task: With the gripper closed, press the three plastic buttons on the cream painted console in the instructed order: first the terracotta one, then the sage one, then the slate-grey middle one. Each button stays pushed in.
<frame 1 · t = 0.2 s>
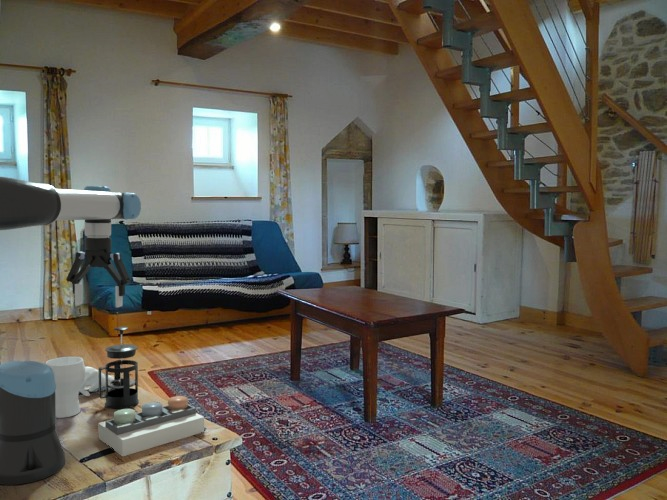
hand: (98, 305, 173), 28 cm above the table, fingers open, 13 cm apart
french press: (120, 404, 167), on the table
button sage: (124, 416, 139), point 7 cm above the table, slide at 0.0 cm
console: (152, 435, 145), on the table
button terracotta: (177, 402, 150), point 7 cm above the table, slide at 0.0 cm
button slate: (152, 409, 145), point 7 cm above the table, slide at 0.0 cm
cup: (65, 413, 159), on the table
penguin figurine: (95, 392, 177), on the table
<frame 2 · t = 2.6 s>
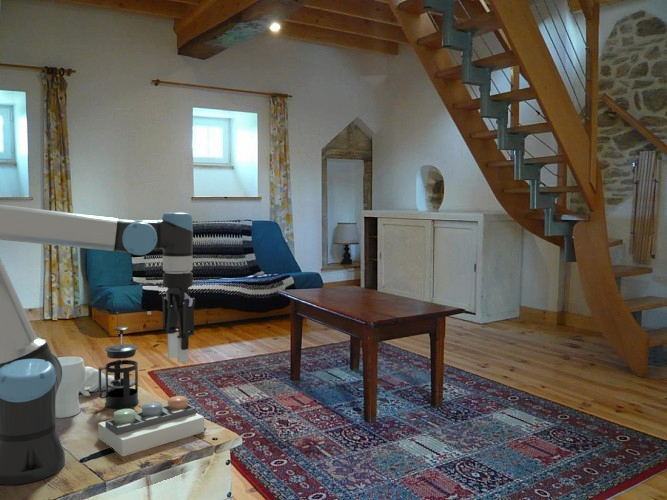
hand: (177, 359, 149), 19 cm above the table, fingers open, 4 cm apart
nothing on the table moved.
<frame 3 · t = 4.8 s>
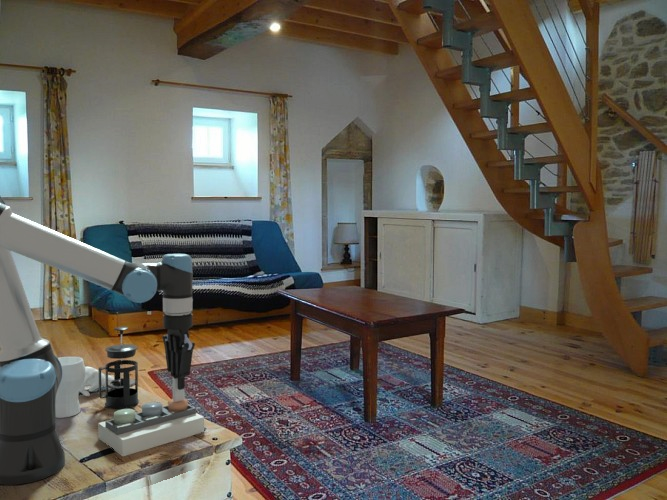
hand: (178, 400, 150), 8 cm above the table, fingers closed
button terracotta: (177, 404, 150), point 6 cm above the table, slide at 0.5 cm, touching gripper
everything else where it was.
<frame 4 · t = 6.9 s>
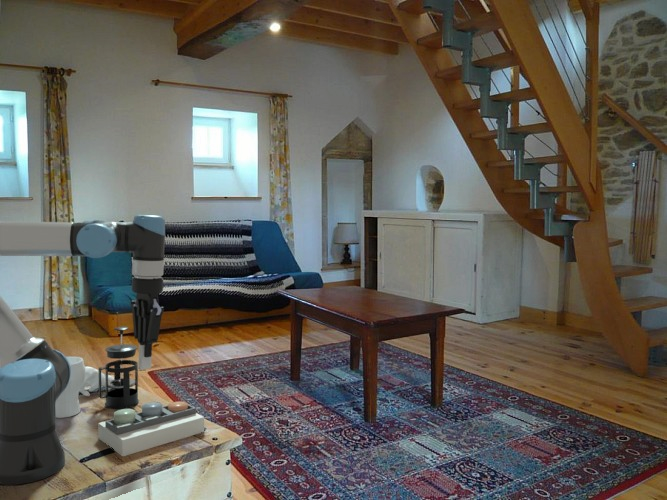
hand: (144, 368, 143), 18 cm above the table, fingers closed
button terracotta: (177, 408, 150), point 5 cm above the table, slide at 1.5 cm
everything else where it was.
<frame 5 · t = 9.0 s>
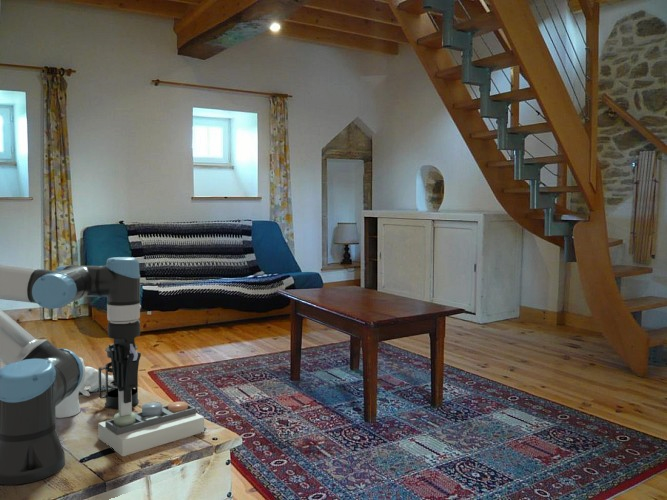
hand: (125, 414, 139), 7 cm above the table, fingers closed
button sage: (124, 419, 140), point 6 cm above the table, slide at 0.7 cm, touching gripper
everything else where it was.
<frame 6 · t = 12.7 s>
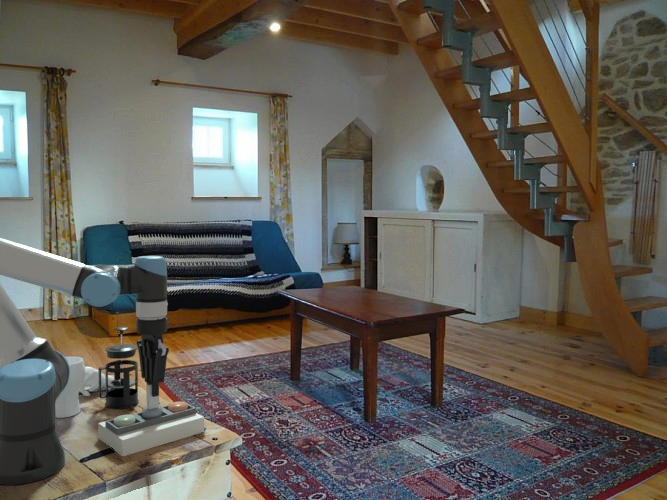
hand: (153, 407, 145), 7 cm above the table, fingers closed
button sage: (124, 422, 140), point 5 cm above the table, slide at 1.5 cm
button slate: (152, 412, 145), point 6 cm above the table, slide at 0.8 cm, touching gripper
everything else where it was.
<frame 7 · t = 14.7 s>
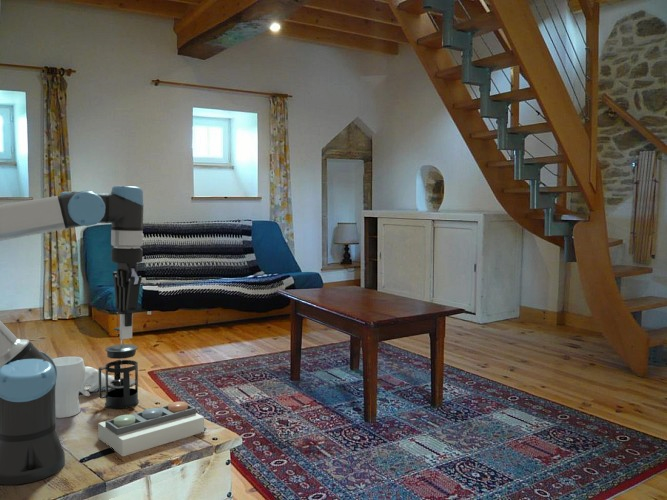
hand: (125, 338, 145), 25 cm above the table, fingers closed
button slate: (152, 415, 145), point 5 cm above the table, slide at 1.5 cm
everything else where it was.
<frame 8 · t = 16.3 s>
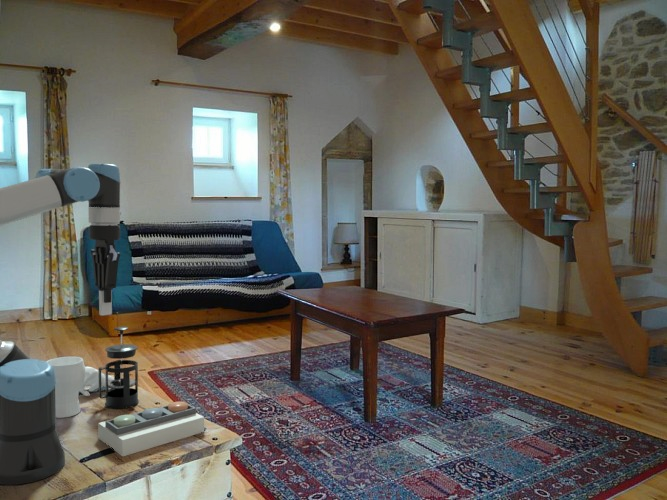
hand: (105, 314, 147), 30 cm above the table, fingers closed
nothing on the table moved.
at the end: button terracotta slide at 1.5 cm; button sage slide at 1.5 cm; button slate slide at 1.5 cm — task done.
